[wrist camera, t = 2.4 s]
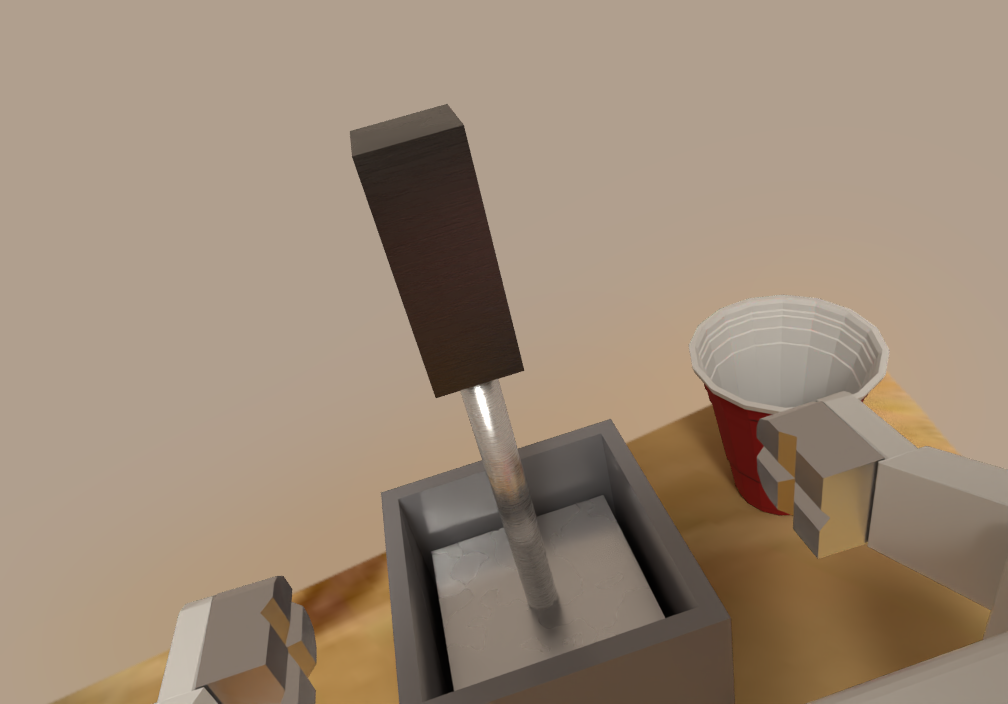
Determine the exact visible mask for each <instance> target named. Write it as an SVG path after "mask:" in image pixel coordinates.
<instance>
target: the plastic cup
mask: <svg viewBox="0 0 1008 704" xmlns="http://www.w3.org/2000/svg"><path fill="white" fill-rule="evenodd" d="M689 350H690V356H691V361H692V367H693V370H694V372H695V373H696V375H697V376H698V377H699V378H700V379H701V380H702V381H703V383H704V386H705V389H706V390H707V392H708V395H709V399H710V401H711V403H712V405H713V409H714V412H715V416H716V420H717V423H718V427H719V431H720V434H721V438H722V442H723V445H724V449H725V453H726V456H727V459H728V461H729V462H730V466H731V469H732V473H733V477H734V481H735V485H736V487H737V488H738V490H739V493H740V494H741V495H742V496H743V498H744V499H745V500H746V501H747V502H748V503H749V504H751V505H752V506H754V507H756V508H758V509H759V510H761V511H763V512H768V513H772V514H776V515H790V514H787V513H785V512H783V511H780V510H778V509H777V508H776V507H775V506H774V504H773V503H772V502H771V500H770V499H769V498H768V496H767V494H766V492H765V491H764V489H763V487H762V484H761V481H760V478H759V475H758V472H757V456H758V454H759V453H760V451H761V450H762V448H763V447H764V445H763V444H762V443H761V442H760V441H759V440H758V438H757V424H758V422H759V419H761V418H764V417H767V416H770V415H773V414H776V413H779V412H782V411H785V410H788V409H791V408H794V407H797V406H800V405H803V404H806V403H809V402H814V401H815V400H818V399H821V398H824V397H827V396H830V395H832V394H835V393H838V392H841V391H846V392H849V393H851V394H853V395H854V396H855V397H856V398H857V399H859V400H860V401H861V402H862V403H863V401H864V398H865V397H866V396H867V395H868V393H869V392H870V391H871V390H872V389H873V388H874V387H875V386H876V385H877V384H878V383H879V382H880V381H881V380H882V379H883V378H884V376H885V375H886V370H887V364H888V358H889V348H888V347H887V345H886V343H885V341H884V339H883V338H882V336H881V334H880V332H879V330H878V328H877V327H876V326H874V325H873V324H871V323H870V322H869V321H867V320H866V319H864V318H863V317H861V316H860V315H859V314H857V313H856V312H855V311H853V310H852V309H849V308H845V307H843V306H840V305H837V304H834V303H831V302H828V301H825V300H822V299H819V298H810V297H800V296H791V295H776V296H767V297H758V298H749V299H746V300H743V301H740V302H738V303H735V304H732V305H729V306H726V307H723V308H721V309H719V310H717V311H716V312H715V313H714V314H712V315H711V316H710V317H708V318H707V319H706V320H704V321H703V322H702V323H701V324H700V325H698V327H697V329H696V331H695V333H694V335H693V337H692V340H691V342H690V344H689Z"/></svg>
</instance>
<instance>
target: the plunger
mask: <svg viewBox="0 0 1008 704" xmlns="http://www.w3.org/2000/svg"><path fill="white" fill-rule="evenodd" d="M350 138H351V150H352V158H353V161H354V163H355V166H356V169H357V172H358V175H359V178H360V181H361V183H362V186H363V189H364V192H365V195H366V198H367V201H368V204H369V207H370V209H371V212H372V215H373V218H374V221H375V224H376V227H377V230H378V233H379V236H380V238H381V241H382V244H383V247H384V250H385V253H386V256H387V259H388V261H389V264H390V267H391V270H392V273H393V276H394V279H395V282H396V285H397V287H398V290H399V293H400V296H401V299H402V302H403V305H404V308H405V310H406V313H407V316H408V319H409V322H410V325H411V328H412V331H413V334H414V337H415V339H416V342H417V345H418V348H419V351H420V354H421V356H422V360H423V363H424V365H425V368H426V371H427V374H428V377H429V380H430V383H431V386H432V388H433V391H434V394H435V397H436V398H438V397H441V396H445V395H448V394H451V393H454V392H457V391H461V395H462V398H463V401H464V404H465V407H466V410H467V413H468V417H469V420H470V423H471V426H472V429H473V432H474V435H475V439H476V442H477V445H478V448H479V451H480V454H481V457H482V461H483V464H484V467H485V470H486V473H487V476H488V479H489V483H490V486H491V489H492V492H493V495H494V498H495V501H496V505H497V508H498V511H499V514H500V517H501V520H502V523H503V527H504V528H501V529H498V530H495V531H492V532H489V533H486V534H483V535H480V536H477V537H474V538H471V539H468V540H465V541H462V542H458V543H455V544H452V545H449V546H446V547H443V548H440V549H437V550H434V551H431V553H432V559H433V565H434V571H435V577H436V583H437V589H438V595H439V602H440V608H441V614H442V620H443V626H444V632H445V638H446V644H447V651H448V657H449V663H450V669H451V675H452V681H453V687H454V691H456V690H459V689H462V688H465V687H468V686H471V685H474V684H477V683H480V682H482V681H485V680H488V679H491V678H494V677H497V676H500V675H503V674H506V673H509V672H511V671H514V670H517V669H520V668H523V667H526V666H529V665H532V664H535V663H537V662H540V661H543V660H546V659H549V658H552V657H555V656H558V655H561V654H563V653H566V652H569V651H572V650H575V649H578V648H581V647H584V646H587V645H590V644H592V643H595V642H598V641H601V640H604V639H607V638H610V637H613V636H616V635H618V634H621V633H624V632H627V631H630V630H633V629H636V628H639V627H642V626H644V625H647V624H650V623H653V622H656V621H659V620H662V619H665V616H664V614H663V612H662V610H661V608H660V607H659V605H658V603H657V601H656V599H655V597H654V595H653V593H652V591H651V589H650V587H649V585H648V583H647V581H646V579H645V577H644V575H643V573H642V571H641V569H640V567H639V565H638V563H637V561H636V559H635V557H634V555H633V553H632V551H631V549H630V547H629V545H628V543H627V541H626V539H625V537H624V535H623V533H622V531H621V529H620V527H619V525H618V523H617V521H616V519H615V517H614V515H613V513H612V511H611V509H610V507H609V505H608V503H607V501H606V499H605V497H604V495H601V496H598V497H595V498H592V499H589V500H586V501H583V502H580V503H577V504H574V505H571V506H568V507H565V508H562V509H559V510H556V511H553V512H549V513H546V514H543V515H540V516H537V517H536V514H535V510H534V507H533V503H532V500H531V496H530V492H529V489H528V485H527V481H526V478H525V474H524V470H523V467H522V463H521V460H520V456H519V452H518V449H517V445H516V441H515V438H514V434H513V431H512V427H511V423H510V420H509V416H508V412H507V409H506V405H505V401H504V398H503V394H502V391H501V388H500V384H499V380H498V379H499V378H502V377H505V376H508V375H512V374H515V373H518V372H521V371H524V368H523V363H522V360H521V355H520V351H519V347H518V343H517V339H516V335H515V331H514V327H513V323H512V319H511V315H510V311H509V307H508V303H507V299H506V295H505V291H504V287H503V282H502V278H501V275H500V270H499V266H498V262H497V258H496V254H495V250H494V246H493V242H492V238H491V234H490V230H489V226H488V222H487V217H486V214H485V210H484V205H483V202H482V197H481V193H480V189H479V185H478V181H477V177H476V173H475V169H474V165H473V161H472V157H471V153H470V149H469V145H468V140H467V137H466V133H465V128H464V125H463V123H462V122H461V121H460V120H459V118H458V117H457V116H456V114H455V113H454V112H453V111H452V109H451V108H450V107H449V106H448V104H446V105H442V106H438V107H435V108H432V109H428V110H424V111H420V112H417V113H413V114H410V115H406V116H403V117H399V118H396V119H392V120H388V121H385V122H381V123H378V124H374V125H371V126H367V127H363V128H360V129H356V130H353V131H350Z"/></svg>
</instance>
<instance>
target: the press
mask: <svg viewBox="0 0 1008 704" xmlns="http://www.w3.org/2000/svg"><path fill="white" fill-rule="evenodd" d="M518 452H519V456H520V460H521V463H522V467H523V470H524V474H525V478H526V481H527V485H528V489H529V492H530V496H531V500H532V503H533V507H534V510H535V514H536V517H537V516H540V515H543V514H546V513H549V512H553V511H556V510H559V509H562V508H565V507H568V506H571V505H574V504H577V503H580V502H583V501H586V500H589V499H592V498H595V497H598V496H601V495H604V497H605V499H606V501H607V503H608V505H609V507H610V509H611V511H612V513H613V515H614V517H615V519H616V521H617V523H618V525H619V527H620V529H621V531H622V533H623V535H624V537H625V539H626V541H627V543H628V545H629V547H630V549H631V551H632V553H633V555H634V557H635V559H636V561H637V563H638V565H639V567H640V569H641V571H642V573H643V575H644V577H645V579H646V581H647V583H648V585H649V587H650V589H651V591H652V593H653V595H654V597H655V599H656V601H657V603H658V605H659V607H660V608H661V610H662V612H663V614H664V616H665V619H662V620H659V621H656V622H653V623H650V624H647V625H644V626H642V627H639V628H636V629H633V630H630V631H627V632H624V633H621V634H618V635H616V636H613V637H610V638H607V639H604V640H601V641H598V642H595V643H592V644H590V645H587V646H584V647H581V648H578V649H575V650H572V651H569V652H566V653H563V654H561V655H558V656H555V657H552V658H549V659H546V660H543V661H540V662H537V663H535V664H532V665H529V666H526V667H523V668H520V669H517V670H514V671H511V672H509V673H506V674H503V675H500V676H497V677H494V678H491V679H488V680H485V681H482V682H480V683H477V684H474V685H471V686H468V687H465V688H462V689H459V690H456V691H454V687H453V681H452V675H451V669H450V663H449V657H448V651H447V644H446V638H445V632H444V626H443V620H442V614H441V608H440V602H439V595H438V589H437V583H436V577H435V571H434V565H433V559H432V553H431V551H434V550H437V549H440V548H443V547H446V546H449V545H452V544H455V543H458V542H462V541H465V540H468V539H471V538H474V537H477V536H480V535H483V534H486V533H489V532H492V531H495V530H498V529H501V528H504V527H503V523H502V520H501V517H500V514H499V511H498V508H497V505H496V501H495V498H494V495H493V492H492V489H491V486H490V483H489V479H488V476H487V473H486V470H485V467H484V464H483V461H478V462H475V463H472V464H469V465H466V466H463V467H460V468H457V469H453V470H450V471H447V472H444V473H441V474H438V475H435V476H432V477H428V478H426V479H422V480H419V481H416V482H413V483H410V484H407V485H404V486H400V487H397V488H394V489H391V490H388V491H385V492H382V493H381V496H382V509H383V520H384V532H385V543H386V555H387V566H388V577H389V589H390V600H391V612H392V623H393V635H394V646H395V658H396V669H397V681H398V692H399V704H735V695H734V673H733V652H732V631H731V617H730V616H729V614H728V612H727V611H726V609H725V607H724V606H723V604H722V602H721V601H720V599H719V597H718V596H717V594H716V592H715V591H714V589H713V588H712V586H711V584H710V583H709V581H708V579H707V578H706V576H705V574H704V573H703V571H702V569H701V568H700V566H699V564H698V563H697V561H696V559H695V558H694V556H693V554H692V553H691V551H690V549H689V548H688V546H687V544H686V543H685V541H684V539H683V538H682V536H681V534H680V533H679V531H678V530H677V528H676V526H675V525H674V523H673V521H672V520H671V518H670V516H669V515H668V513H667V511H666V510H665V508H664V506H663V505H662V503H661V501H660V500H659V498H658V496H657V495H656V493H655V491H654V490H653V488H652V486H651V485H650V483H649V481H648V480H647V478H646V476H645V475H644V473H643V471H642V470H641V468H640V467H639V465H638V463H637V462H636V460H635V458H634V457H633V455H632V453H631V452H630V450H629V448H628V447H627V445H626V443H625V442H624V440H623V438H622V437H621V435H620V433H619V432H618V430H617V428H616V427H615V425H614V423H613V422H612V420H611V419H609V420H606V421H603V422H600V423H597V424H594V425H591V426H587V427H584V428H581V429H578V430H575V431H572V432H569V433H565V434H562V435H559V436H556V437H553V438H550V439H547V440H544V441H541V442H537V443H534V444H531V445H528V446H525V447H522V448H519V449H518Z"/></svg>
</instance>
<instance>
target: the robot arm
mask: <svg viewBox="0 0 1008 704" xmlns="http://www.w3.org/2000/svg"><path fill="white" fill-rule="evenodd" d="M757 438H758V440H759V441H760V442H761V443H762V444H763V445H764V447H763V448H762V450H761V451H760V453H759V454H758V456H757V472H758V475H759V478H760V481H761V484H762V487H763V489H764V491H765V492H766V494H767V496H768V498H769V499H770V500H771V502H772V503H773V504H774V506H775V507H776V508H777V509H778V510H780V511H783V512H785V513H787V514H790V515H792V516H794V518H793V529H794V530H795V532H796V533H797V534H798V535H799V537H800V538H801V539H802V540H803V541H804V543H805V544H806V545H807V546H808V548H809V549H810V550H811V551H812V552H813V554H814V555H815V556H816V557H817V559H820V558H823V557H826V556H830V555H833V554H836V553H839V552H842V551H846V550H849V549H852V548H855V547H858V546H862V545H865V544H868V547H870V548H872V549H874V550H875V551H877V552H879V553H881V554H883V555H885V556H887V557H889V558H891V559H893V560H895V561H897V562H899V563H901V564H903V565H905V566H906V567H908V568H910V569H912V570H914V571H916V572H918V573H920V574H922V575H924V576H926V577H928V578H930V579H932V580H934V581H936V582H937V583H939V584H941V585H943V586H945V587H947V588H949V589H951V590H953V591H955V592H957V593H959V594H961V595H963V596H965V597H966V598H968V599H970V600H972V601H974V602H976V603H978V604H980V605H982V606H984V607H986V608H988V609H990V610H991V612H990V616H989V619H988V622H987V625H986V629H985V632H984V636H983V640H981V641H979V642H976V643H973V644H970V645H968V646H965V647H962V648H959V649H956V650H954V651H951V652H948V653H945V654H942V655H940V656H937V657H934V658H931V659H929V660H926V661H923V662H920V663H917V664H915V665H912V666H909V667H906V668H903V669H901V670H898V671H895V672H892V673H890V674H887V675H884V676H881V677H878V678H876V679H873V680H870V681H867V682H864V683H862V684H859V685H856V686H853V687H851V688H848V689H845V690H842V691H839V692H837V693H834V694H831V695H828V696H825V697H823V698H820V699H817V700H814V701H811V702H809V703H806V704H1008V470H1007V469H1004V468H1000V467H997V466H993V465H990V464H987V463H983V462H980V461H977V460H973V459H970V458H966V457H963V456H960V455H956V454H953V453H949V452H946V451H942V450H939V449H936V448H932V447H929V446H925V447H921V448H917V447H916V446H915V445H913V444H912V443H911V442H910V441H908V440H907V439H906V438H905V437H904V436H902V435H901V434H900V433H899V432H898V431H896V430H895V429H894V428H893V427H891V426H890V425H889V424H888V423H887V422H885V421H884V420H883V419H882V418H881V417H879V416H878V415H877V414H876V413H874V412H873V411H872V410H871V409H870V408H868V407H867V406H866V405H865V404H864V403H862V402H861V401H860V400H859V399H857V398H856V397H855V396H854V395H853V394H851V393H849V392H846V391H841V392H838V393H835V394H832V395H830V396H827V397H824V398H821V399H818V400H815V401H814V402H809V403H806V404H803V405H800V406H797V407H794V408H791V409H788V410H785V411H782V412H779V413H776V414H773V415H770V416H767V417H764V418H761V419H759V422H758V424H757ZM291 600H292V588H291V586H290V585H289V584H288V582H287V581H286V579H285V578H284V576H275V577H272V578H269V579H265V580H262V581H259V582H255V583H252V584H249V585H245V586H242V587H239V588H236V589H232V590H229V591H225V592H222V593H219V594H217V595H214V596H211V597H207V598H204V599H201V600H197V601H194V602H191V603H187V604H185V606H184V607H183V608H182V610H181V611H180V613H179V615H178V619H177V623H176V627H175V631H174V635H173V639H172V644H171V648H170V652H169V656H168V660H167V664H166V668H165V672H164V676H163V680H162V684H161V688H160V693H159V697H158V701H157V703H154V704H315V695H316V690H315V689H314V687H313V686H312V684H311V683H310V681H309V680H308V677H309V675H310V674H311V672H312V670H313V669H314V667H315V666H316V649H317V647H316V641H315V635H314V629H313V626H312V624H311V621H310V618H309V616H308V614H307V612H306V611H305V609H304V607H303V606H301V605H298V604H296V603H293V602H291Z"/></svg>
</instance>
